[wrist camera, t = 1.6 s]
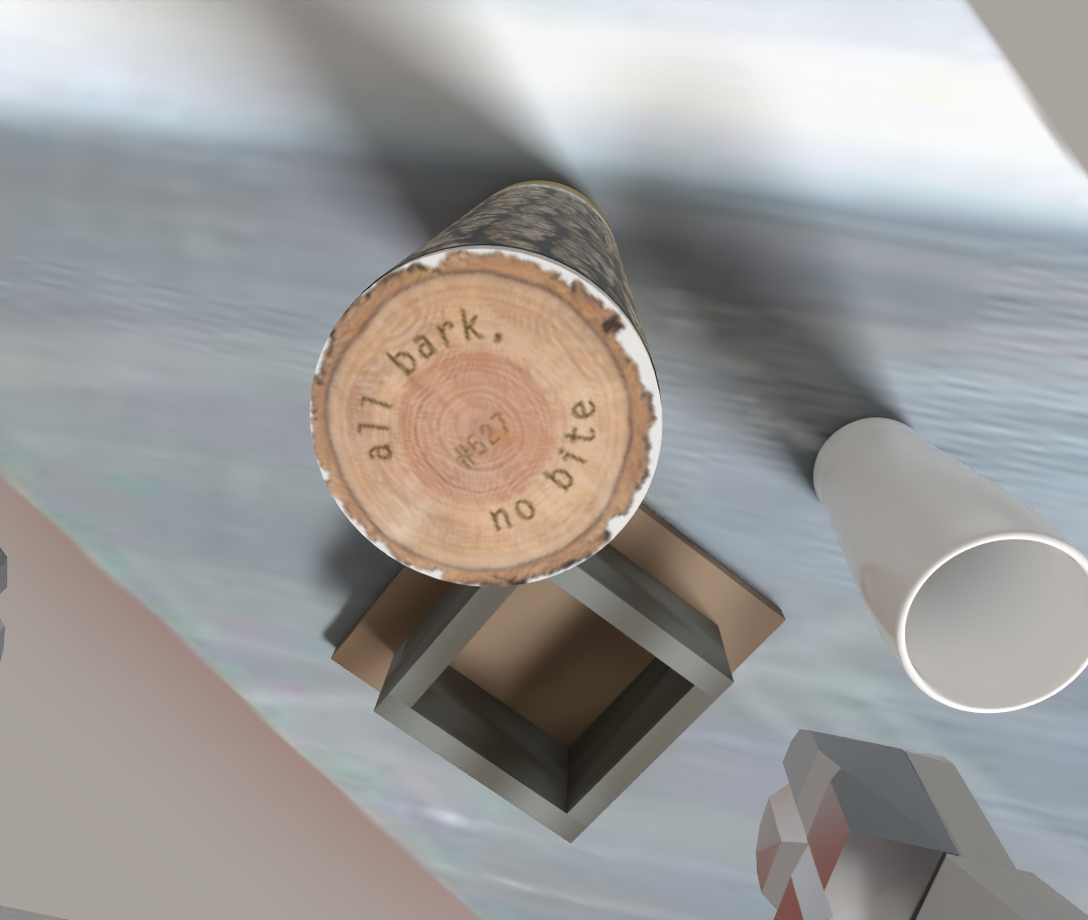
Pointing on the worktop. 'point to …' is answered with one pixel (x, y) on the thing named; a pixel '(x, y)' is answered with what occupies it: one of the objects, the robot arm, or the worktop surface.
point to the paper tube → (493, 395)
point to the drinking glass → (954, 569)
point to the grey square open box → (562, 667)
